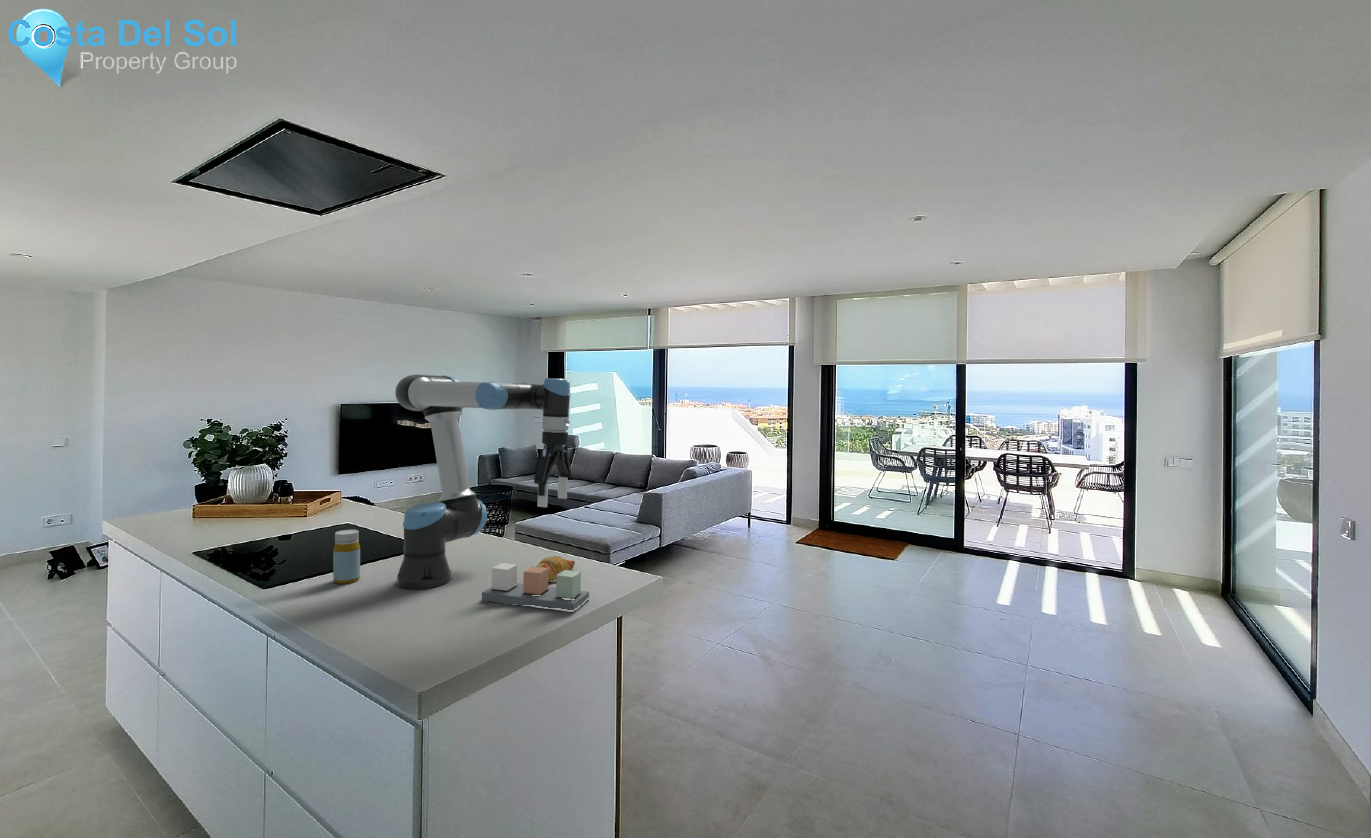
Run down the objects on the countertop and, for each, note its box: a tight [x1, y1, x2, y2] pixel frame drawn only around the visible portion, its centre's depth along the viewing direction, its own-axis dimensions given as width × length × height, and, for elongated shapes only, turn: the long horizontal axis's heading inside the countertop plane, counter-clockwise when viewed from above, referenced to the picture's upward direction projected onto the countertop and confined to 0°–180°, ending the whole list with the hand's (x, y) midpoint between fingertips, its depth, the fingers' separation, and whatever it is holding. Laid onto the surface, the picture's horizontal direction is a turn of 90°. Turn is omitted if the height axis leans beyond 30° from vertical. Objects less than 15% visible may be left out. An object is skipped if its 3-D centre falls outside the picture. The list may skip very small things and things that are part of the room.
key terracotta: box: [522, 566, 549, 595], centre depth 162 cm, size 5×5×6 cm
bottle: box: [332, 529, 361, 585], centre depth 174 cm, size 7×7×15 cm
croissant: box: [535, 555, 575, 583], centre depth 182 cm, size 21×10×8 cm, turn 151°
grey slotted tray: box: [481, 582, 590, 610], centre depth 162 cm, size 28×10×2 cm, turn 76°
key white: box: [491, 562, 518, 591], centre depth 164 cm, size 5×5×6 cm
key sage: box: [555, 570, 582, 599], centre depth 159 cm, size 5×5×6 cm
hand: (552, 502), depth 169 cm, fingers open, 13 cm apart
